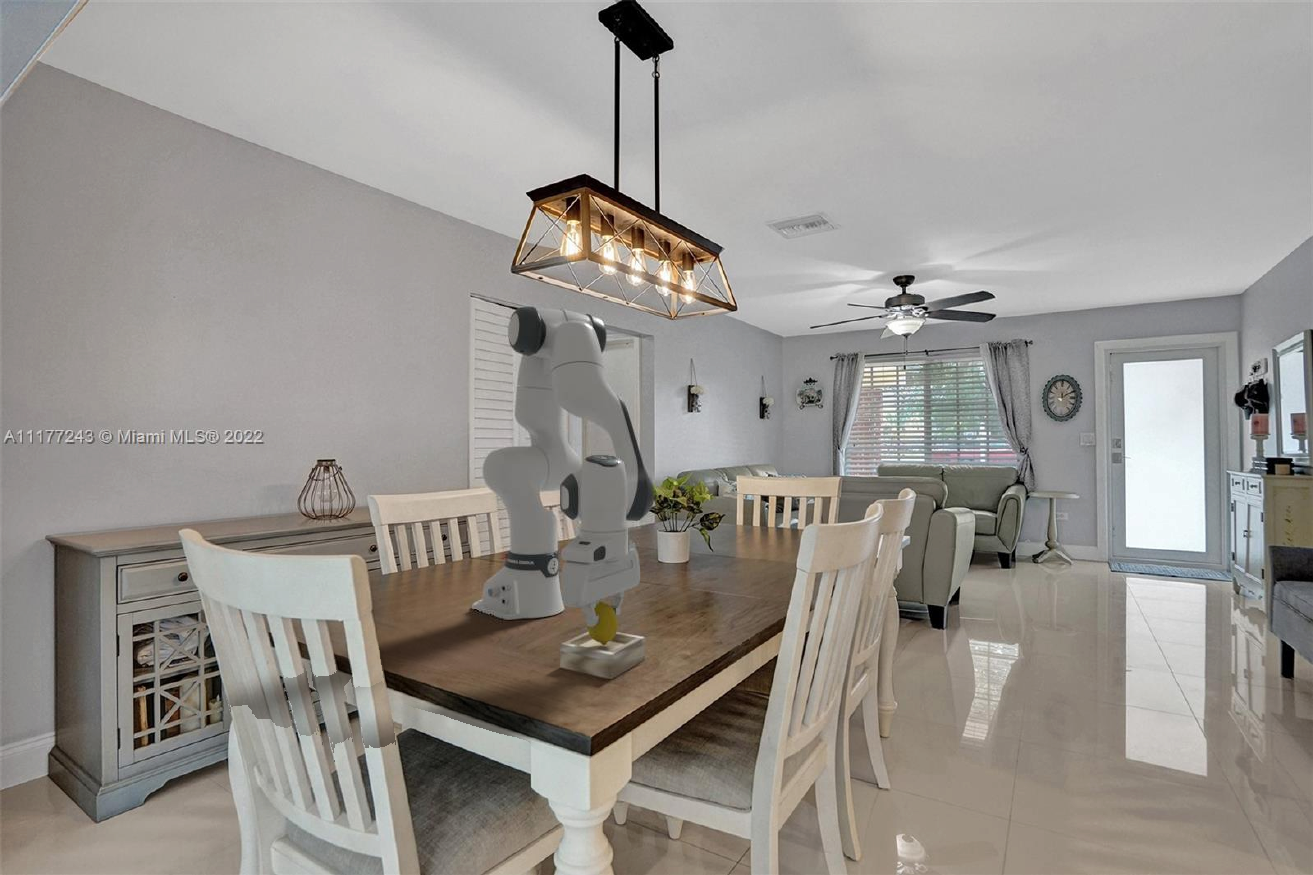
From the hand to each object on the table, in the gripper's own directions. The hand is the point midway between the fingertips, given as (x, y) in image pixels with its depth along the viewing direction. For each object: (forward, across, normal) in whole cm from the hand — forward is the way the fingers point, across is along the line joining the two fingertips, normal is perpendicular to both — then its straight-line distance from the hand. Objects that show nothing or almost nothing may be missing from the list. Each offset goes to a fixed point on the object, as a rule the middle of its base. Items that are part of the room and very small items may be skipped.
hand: (603, 620), depth 116 cm
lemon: (+5, 0, 0) cm, 5 cm away
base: (+8, 0, 0) cm, 8 cm away
